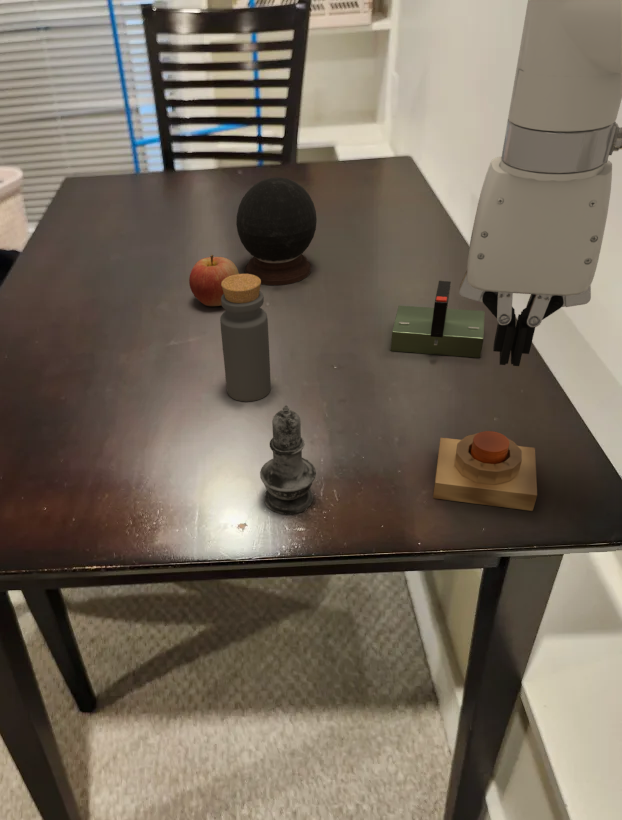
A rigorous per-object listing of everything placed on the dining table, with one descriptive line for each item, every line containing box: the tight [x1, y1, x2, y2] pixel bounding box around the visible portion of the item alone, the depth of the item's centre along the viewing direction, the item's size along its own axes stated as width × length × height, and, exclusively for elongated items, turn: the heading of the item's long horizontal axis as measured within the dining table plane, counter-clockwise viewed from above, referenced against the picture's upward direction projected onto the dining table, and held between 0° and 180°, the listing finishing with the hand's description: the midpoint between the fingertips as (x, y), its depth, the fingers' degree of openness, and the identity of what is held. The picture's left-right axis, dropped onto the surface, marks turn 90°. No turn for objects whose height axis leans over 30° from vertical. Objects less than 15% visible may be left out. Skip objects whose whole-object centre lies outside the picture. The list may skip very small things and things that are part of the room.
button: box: [471, 430, 510, 464], centre depth 72 cm, size 4×4×2 cm
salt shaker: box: [259, 404, 317, 516], centre depth 70 cm, size 6×6×12 cm
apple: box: [188, 254, 240, 307], centre depth 108 cm, size 8×8×8 cm
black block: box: [430, 280, 452, 337], centre depth 93 cm, size 6×2×5 cm, turn 164°
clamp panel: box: [390, 305, 486, 359], centre depth 95 cm, size 12×11×3 cm
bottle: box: [219, 273, 272, 402], centre depth 86 cm, size 6×6×15 cm
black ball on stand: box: [236, 177, 318, 286], centre depth 113 cm, size 13×13×15 cm
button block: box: [432, 432, 538, 512], centre depth 73 cm, size 10×8×4 cm
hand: (509, 357), depth 65 cm, fingers closed
